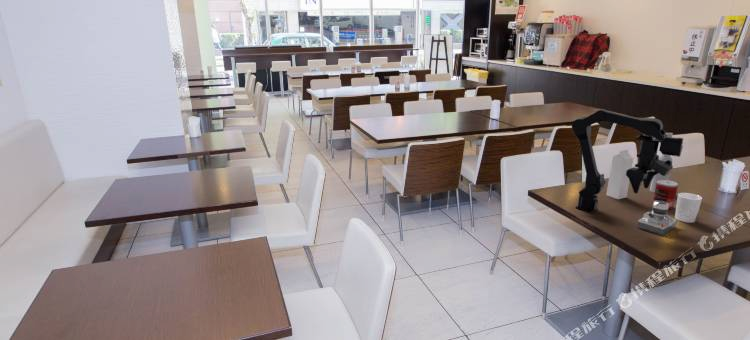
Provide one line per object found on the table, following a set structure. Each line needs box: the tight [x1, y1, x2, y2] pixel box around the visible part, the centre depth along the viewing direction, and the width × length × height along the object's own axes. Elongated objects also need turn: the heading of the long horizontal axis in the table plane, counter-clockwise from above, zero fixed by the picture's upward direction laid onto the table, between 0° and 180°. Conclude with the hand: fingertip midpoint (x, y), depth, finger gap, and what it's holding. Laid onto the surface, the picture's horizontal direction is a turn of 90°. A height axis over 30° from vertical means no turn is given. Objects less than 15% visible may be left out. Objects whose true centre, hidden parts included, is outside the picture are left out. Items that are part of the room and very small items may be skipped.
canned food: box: [652, 179, 679, 211], centre depth 188 cm, size 8×8×11 cm
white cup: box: [674, 192, 703, 224], centre depth 175 cm, size 8×8×10 cm
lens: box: [650, 200, 669, 220], centre depth 168 cm, size 5×5×7 cm
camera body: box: [636, 211, 678, 236], centre depth 169 cm, size 9×12×4 cm
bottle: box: [649, 132, 674, 194], centre depth 203 cm, size 7×7×28 cm
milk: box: [606, 148, 634, 200], centre depth 198 cm, size 6×6×22 cm
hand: (640, 190), depth 172 cm, fingers open, 9 cm apart
